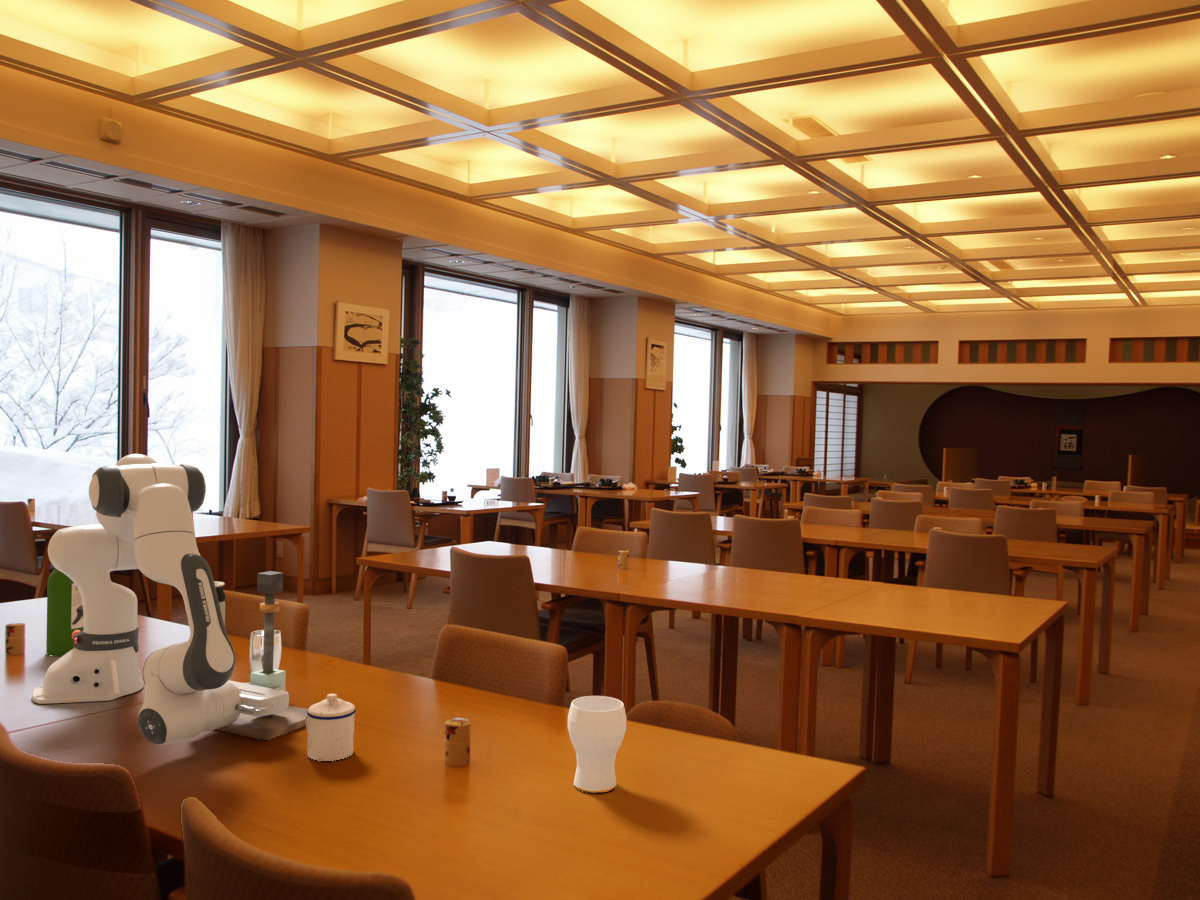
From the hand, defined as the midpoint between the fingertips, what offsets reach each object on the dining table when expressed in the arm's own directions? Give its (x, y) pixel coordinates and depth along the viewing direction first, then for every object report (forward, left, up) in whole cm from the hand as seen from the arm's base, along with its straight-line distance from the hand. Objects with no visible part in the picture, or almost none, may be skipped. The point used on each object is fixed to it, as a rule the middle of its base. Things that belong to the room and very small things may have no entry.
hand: (270, 687), depth 195 cm
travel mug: (-7, +72, -8) cm, 73 cm away
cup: (+48, -58, -8) cm, 76 cm away
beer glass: (+1, +19, -8) cm, 21 cm away
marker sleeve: (-1, -1, -5) cm, 5 cm away
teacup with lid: (+7, -23, -8) cm, 25 cm away
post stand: (-1, -1, -8) cm, 8 cm away
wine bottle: (-42, +79, -8) cm, 90 cm away
